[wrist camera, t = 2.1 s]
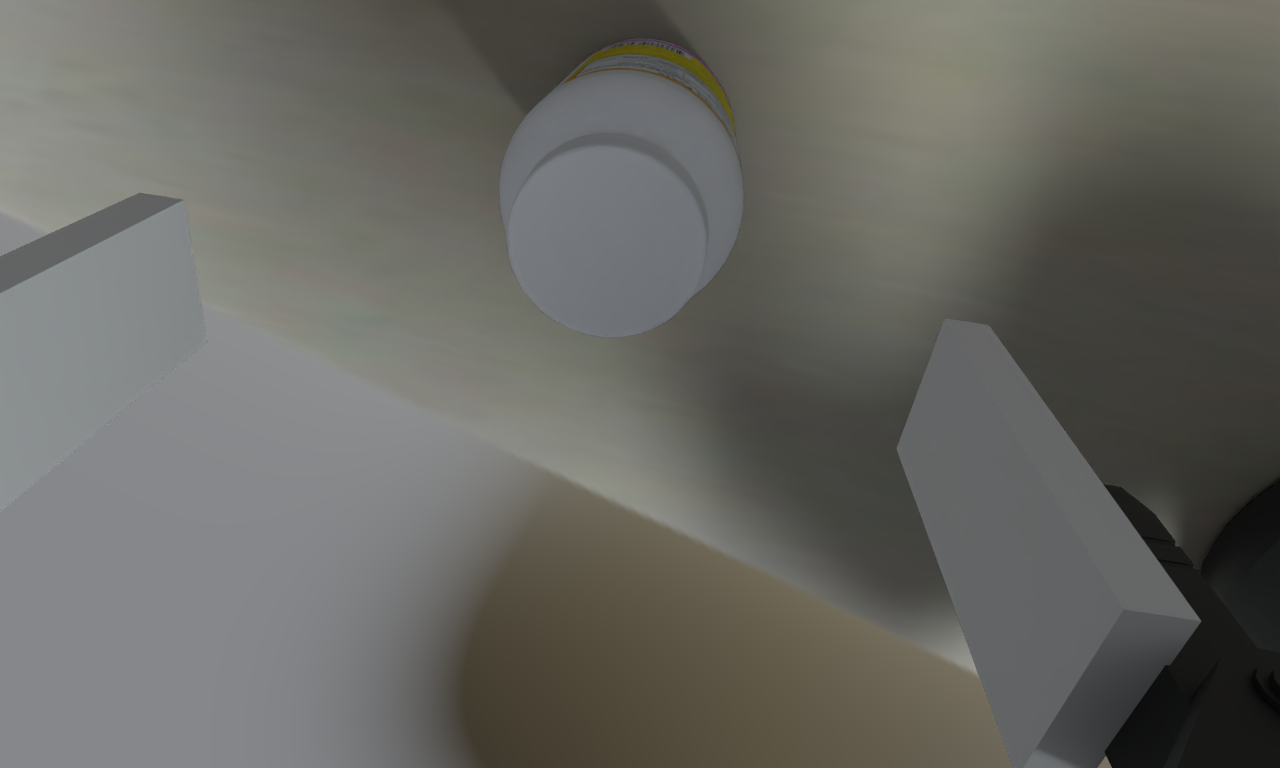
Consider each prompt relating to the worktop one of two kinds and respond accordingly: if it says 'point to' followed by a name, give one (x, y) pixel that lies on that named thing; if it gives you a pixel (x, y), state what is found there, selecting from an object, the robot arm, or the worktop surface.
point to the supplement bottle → (623, 189)
